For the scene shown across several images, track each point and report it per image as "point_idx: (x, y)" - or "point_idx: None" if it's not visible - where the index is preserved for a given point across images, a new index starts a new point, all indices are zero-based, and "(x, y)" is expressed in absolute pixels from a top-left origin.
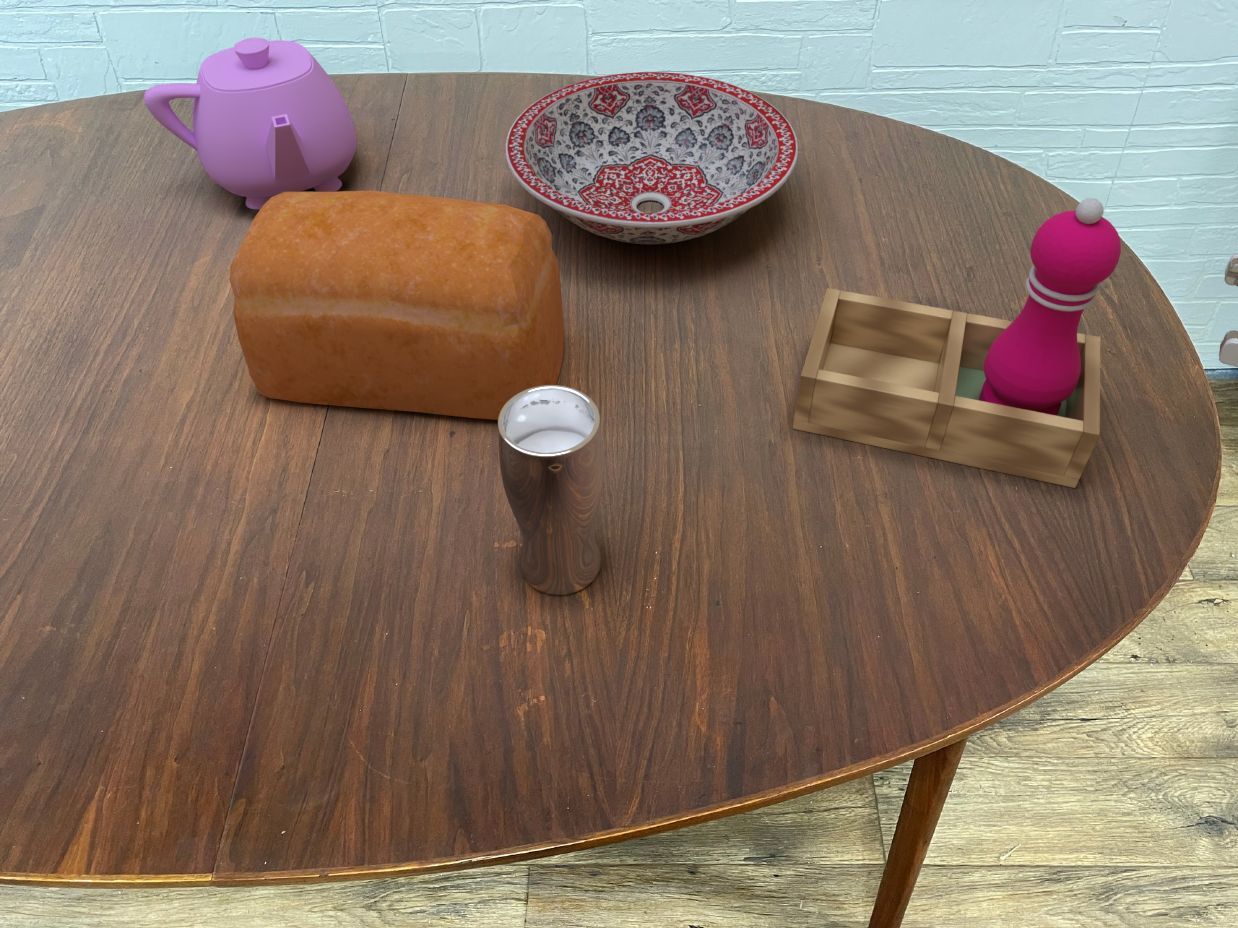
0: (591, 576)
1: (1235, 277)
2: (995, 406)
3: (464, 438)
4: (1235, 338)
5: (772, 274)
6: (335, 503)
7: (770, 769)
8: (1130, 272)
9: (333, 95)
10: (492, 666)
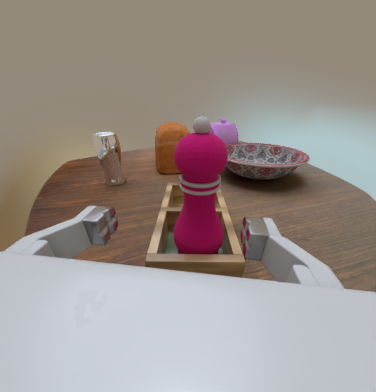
0: (108, 183)
1: (243, 234)
2: (161, 221)
3: (153, 169)
4: (95, 207)
5: (244, 193)
6: (134, 164)
7: (35, 214)
8: None
9: (228, 131)
10: (88, 180)
